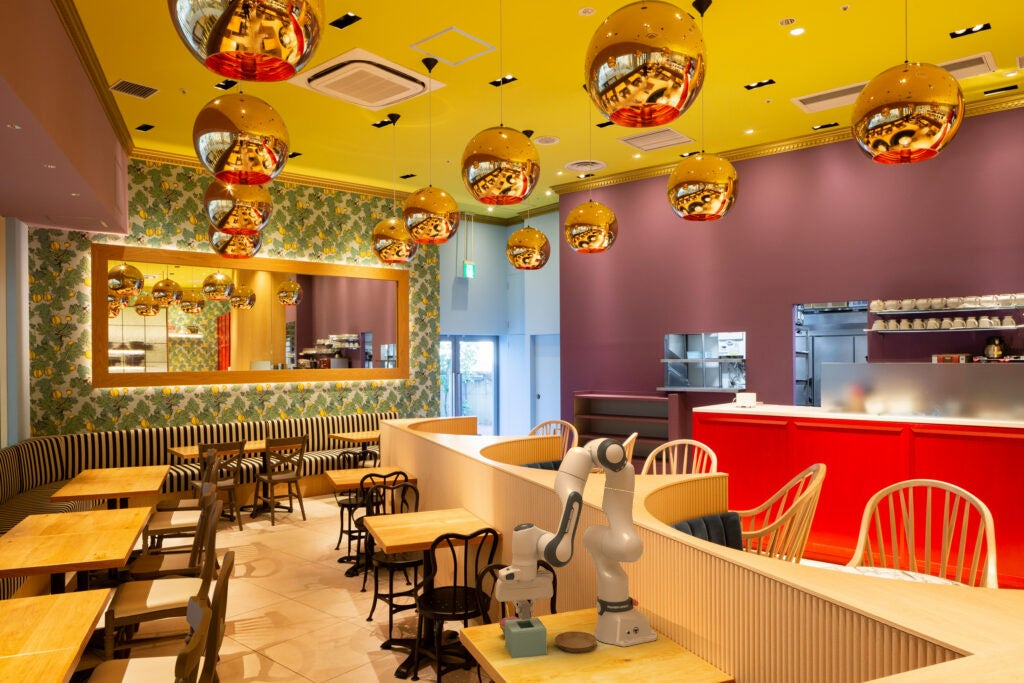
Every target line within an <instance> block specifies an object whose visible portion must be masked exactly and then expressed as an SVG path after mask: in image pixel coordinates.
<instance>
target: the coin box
mask: <svg viewBox="0 0 1024 683" xmlns="http://www.w3.org/2000/svg"><path fill="white" fill-rule="evenodd" d="M504 639H505V641H504V642H505V643H504V645H505V648H506V650H507V651H508V653H509V655H510V657H511V658H512V659H520V658H527V657H528V658H529V657H536V656H546V655H548V654H547V652H548V651H547V650H548V649H547V648H548V646H547V642H548V641H547V627H546V626H545V624H543V622H542V621H541V619H540V618H539V617H538V616H537V617H531V619H526V620H522V619H521V618H519V619H515V620H505V637H504Z"/></svg>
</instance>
